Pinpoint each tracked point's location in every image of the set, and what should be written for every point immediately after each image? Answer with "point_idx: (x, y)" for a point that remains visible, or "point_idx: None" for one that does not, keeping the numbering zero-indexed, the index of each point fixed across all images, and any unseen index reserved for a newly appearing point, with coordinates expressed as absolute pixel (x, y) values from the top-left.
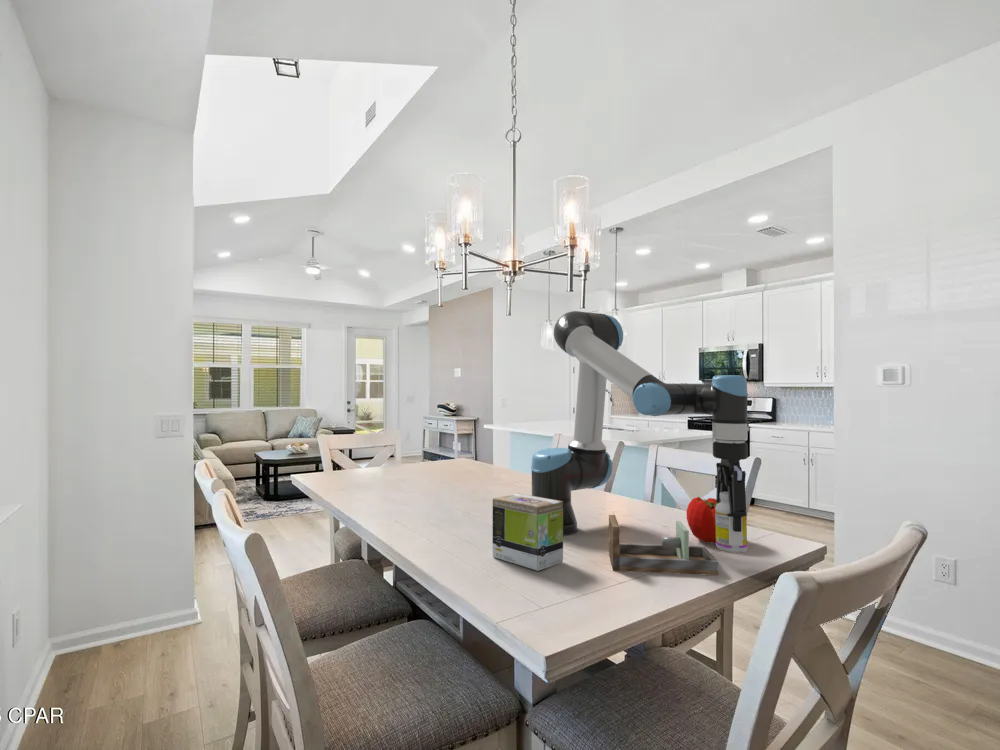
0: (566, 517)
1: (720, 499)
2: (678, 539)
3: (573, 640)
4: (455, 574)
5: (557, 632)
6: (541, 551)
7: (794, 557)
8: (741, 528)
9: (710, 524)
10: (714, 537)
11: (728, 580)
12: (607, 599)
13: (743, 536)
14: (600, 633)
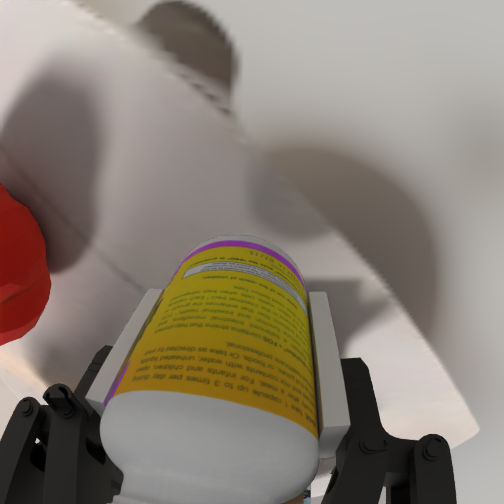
0: None
1: (108, 481)
2: None
3: (473, 428)
4: (316, 492)
5: (457, 438)
6: (305, 493)
7: (93, 15)
8: (339, 362)
9: (24, 295)
10: (44, 260)
11: (367, 289)
12: (409, 433)
13: (298, 304)
14: (473, 420)
